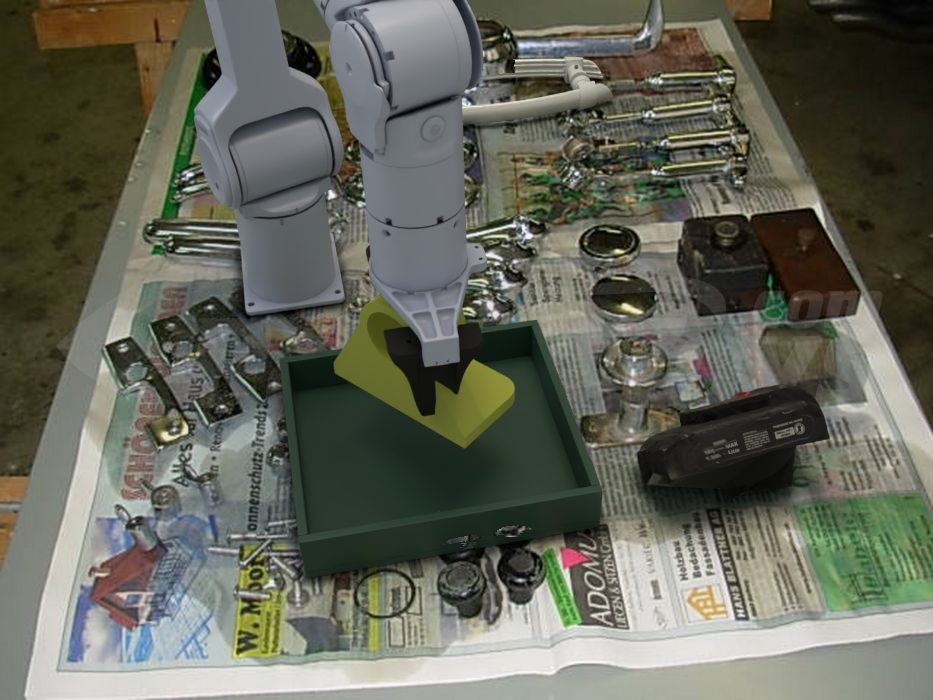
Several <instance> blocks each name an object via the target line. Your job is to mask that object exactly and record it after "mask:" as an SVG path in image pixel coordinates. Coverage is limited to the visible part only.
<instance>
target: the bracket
mask: <svg viewBox="0 0 933 700" xmlns="http://www.w3.org/2000/svg"><path fill="white" fill-rule="evenodd" d="M461 324H467V321H466V316H465V312H464V310H463V308H462V309H461V313H460V318H459V322H458V325H461ZM407 326H409V325H408V324H407V323H406V322H405V321H404V320H403V319H402V317H401V316H400V315H399V314H398V313H397V312H396V311H395V310H394V308H393V307H392V306H391V305H390V304H389V303H388V302H387V301H386V299H385V298H384V297H383V296H382V295H381V294H380V293H379V294H378V295H376V297H374V298H373V299H371V300H370V301H369V302H367V303H366V304H364V305H363V306H362V308H361V309H360V311H359V317H358V324H357V326H356V327H355V329H354V330H353V332H352V334H351V335H350V337H349V338H348V340H347V341H346V343H345V344H344V345H343V347H342V348H341V349H342V351H341V352H340V354H339V355H338V357H337V358H336V360H335V361H334V370H335V373H336V374H337V375H339V376H341V377H342V378H344V379H346V380H348V381H349V382H351V383H353V384H355V385H356V386H358V387H360V388H361V389H363V390H365V391H367V392H368V393H370V394H372V395H373V396H375V397H377V398H379V399H380V400H382V401H384V402H385V403H387V404H389V405H391V406H392V407H394V408H396V409H397V410H399V411H401V412H403V413H404V414H406V415H408V416H410V417H411V418H413V419H415V420H416V421H418V422H420V423H422V424H423V425H425V426H427V427H428V428H430V429H432V430H434V431H435V432H437V433H439V434H440V435H442V436H444V437H446V438H447V439H449V440H451V441H452V442H454V443H456V444H458V445H459V446H461V447H463V448H466V447H467V446H468V445H469V444H470V443H472V442H473V441H474V440H475V439H476V438H477V437H478V436H479V435H480V434H481V433H483V432H484V431H485V430H486V429H487V428H488V427H489V426H490V425H491V424H492V423H493V422H495V421H496V420H497V419H498V418H499V417H500V416H501V415H502V414H503V413H504V412H505V411H507V410H508V409H509V408H510V407H511V406H512V405H513V403H514V399H515V387H514V384H513V382H512V381H511V380H510V379H509V378H508V377H506V376H504V375H502V374H500V373H498V372H496V371H494V370H493V369H491V368H489V367H487V366H485V365H483V364H481V363H479V362H477V361H476V360H474V359H473V360H472V361H471V363H470V364H469V366H468V367H467V369H466V371H465V373H464V376H463V379H462V382H461V385H460V389H459V393H458V394H457V395H456V394H454V393H453V392H452V391H451V390H450V389H448V388H447V387H445V386H443V385H442V384H440V383H439V382H437V381H435V387H436V405H435V415H429V416H422V415H421V414H420V412H419V410H418V408H417V406H416V403H415V400H414V397H413V394H412V390H411V387H410V384H409V382H408V380H407V378H406V376H405V375H404V373H403V372H402V371H401V370H400V369H399V368H398V367H397V366H396V365H394V363H393V362H392V360H391V358H390V356H389V354H388V351H387V347H386V342H385V338H384V330H387V329H393V328H400V327H407Z"/></svg>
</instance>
